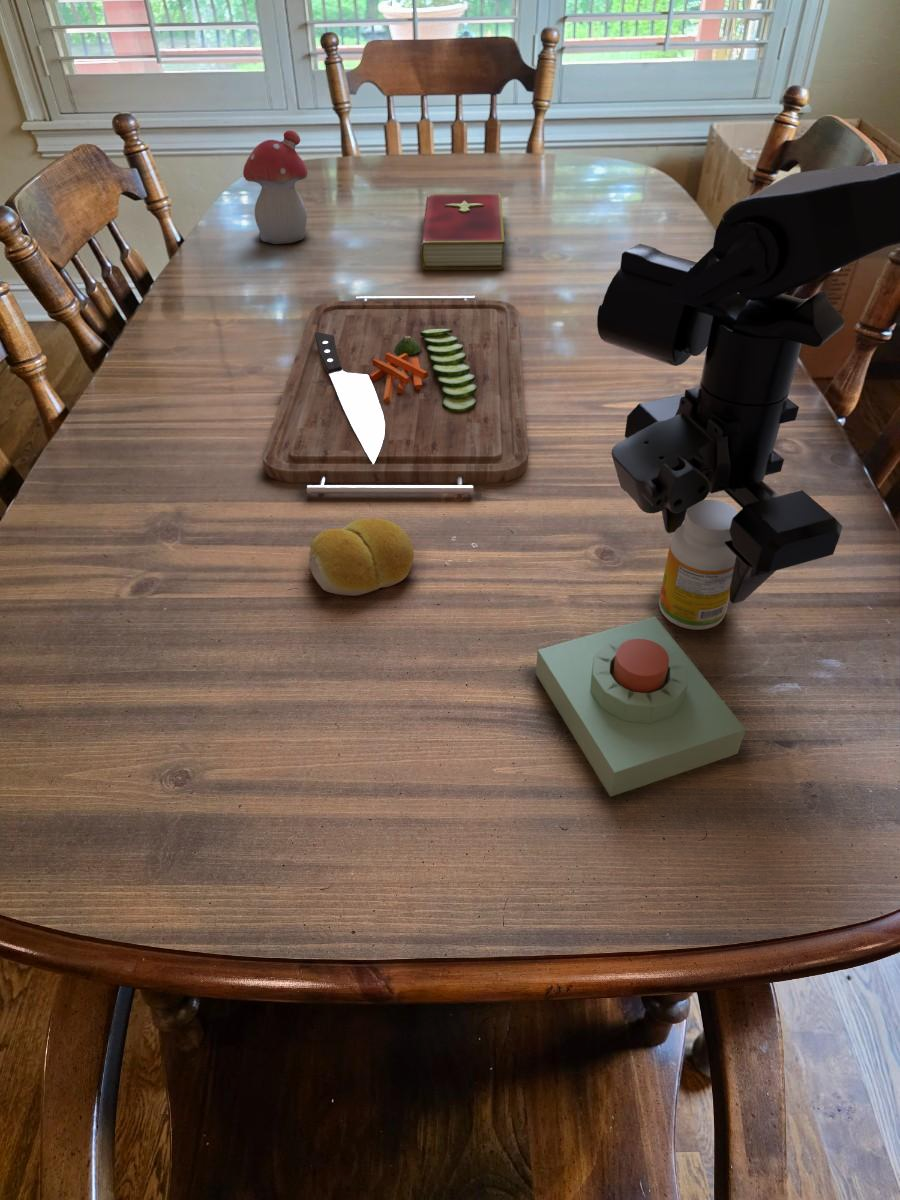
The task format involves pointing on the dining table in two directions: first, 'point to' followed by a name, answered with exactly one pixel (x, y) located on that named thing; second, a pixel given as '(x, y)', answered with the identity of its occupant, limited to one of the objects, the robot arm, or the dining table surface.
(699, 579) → the supplement bottle
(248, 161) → the decorative ornament
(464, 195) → the hardcover book
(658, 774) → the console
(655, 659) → the button
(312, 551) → the bread roll
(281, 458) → the chopping board
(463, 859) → the dining table surface
